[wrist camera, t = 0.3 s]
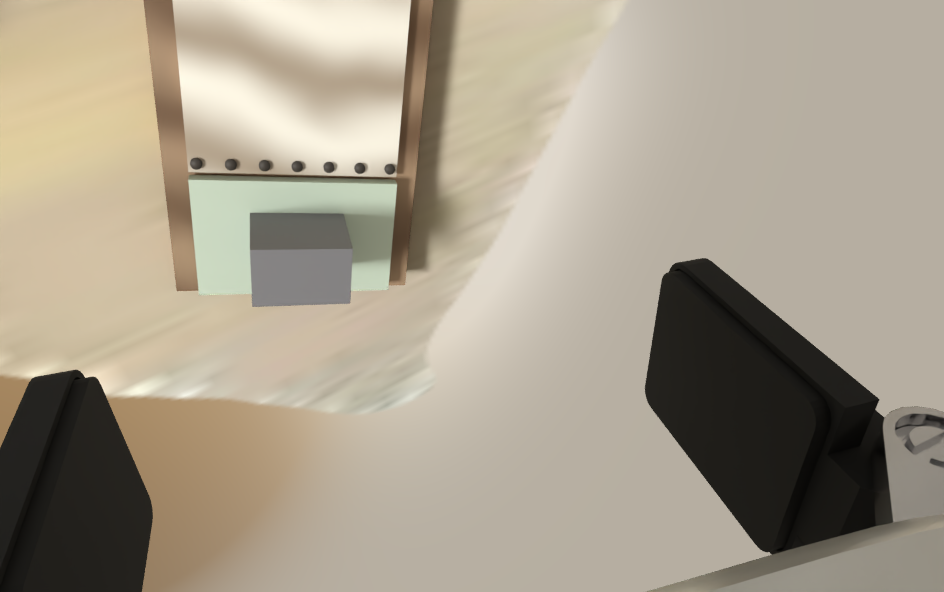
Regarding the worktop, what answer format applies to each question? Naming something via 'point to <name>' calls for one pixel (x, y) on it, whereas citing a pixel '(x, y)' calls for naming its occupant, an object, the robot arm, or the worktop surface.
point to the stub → (292, 237)
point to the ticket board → (288, 98)
